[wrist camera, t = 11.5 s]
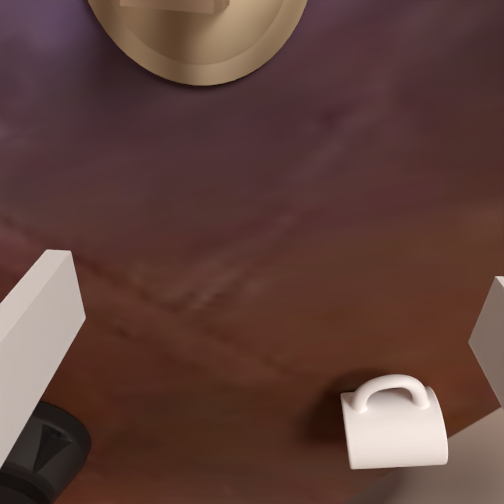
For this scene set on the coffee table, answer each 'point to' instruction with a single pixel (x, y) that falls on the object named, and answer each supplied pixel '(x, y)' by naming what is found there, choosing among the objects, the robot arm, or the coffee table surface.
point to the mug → (394, 424)
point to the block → (179, 5)
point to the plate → (201, 37)
